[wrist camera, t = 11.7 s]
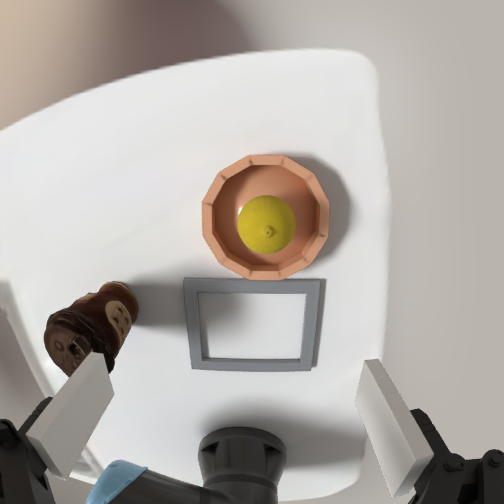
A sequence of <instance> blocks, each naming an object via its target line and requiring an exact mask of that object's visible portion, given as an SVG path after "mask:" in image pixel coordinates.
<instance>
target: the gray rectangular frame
mask: <svg viewBox="0 0 504 504" xmlns="http://www.w3.org/2000/svg"><path fill="white" fill-rule="evenodd" d="M183 287H184V299H185V311H186V321H187V331H188V340H189V349H190V358H191V366H192V369H200V370H217V371H247V372H290V371H311V365H312V358H313V349H314V341H315V332H316V323H317V314H318V303H319V293H320V280H319V279H283V280H249V279H224V278H184V279H183ZM198 292H206V293H263V294H306V298H305V311H304V323H303V334H302V344H301V355H300V359H222V358H203V354H202V344H201V332H200V320H199V306H198Z"/></svg>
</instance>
